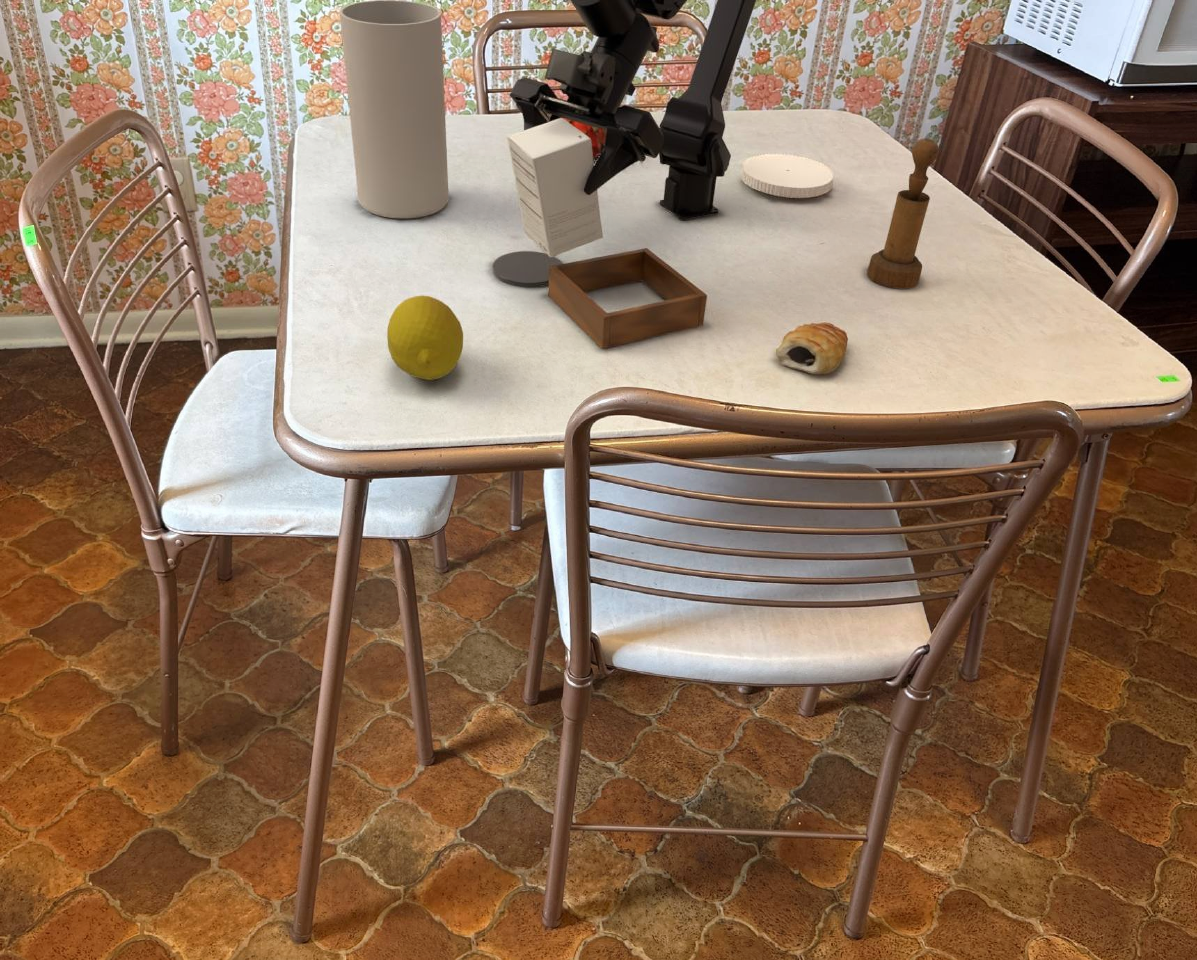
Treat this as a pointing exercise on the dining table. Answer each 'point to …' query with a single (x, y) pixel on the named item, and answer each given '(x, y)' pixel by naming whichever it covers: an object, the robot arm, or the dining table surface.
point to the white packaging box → (555, 186)
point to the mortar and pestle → (906, 226)
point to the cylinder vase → (396, 106)
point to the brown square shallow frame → (632, 323)
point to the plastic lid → (787, 175)
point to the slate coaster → (524, 268)
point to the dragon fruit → (591, 136)
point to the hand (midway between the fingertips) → (553, 182)
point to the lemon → (425, 337)
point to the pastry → (813, 348)
